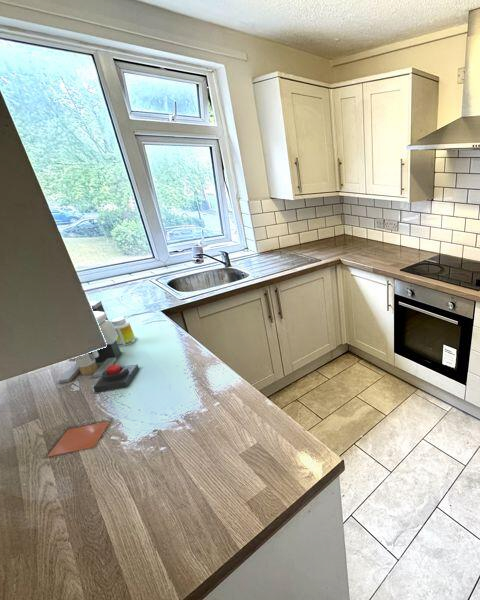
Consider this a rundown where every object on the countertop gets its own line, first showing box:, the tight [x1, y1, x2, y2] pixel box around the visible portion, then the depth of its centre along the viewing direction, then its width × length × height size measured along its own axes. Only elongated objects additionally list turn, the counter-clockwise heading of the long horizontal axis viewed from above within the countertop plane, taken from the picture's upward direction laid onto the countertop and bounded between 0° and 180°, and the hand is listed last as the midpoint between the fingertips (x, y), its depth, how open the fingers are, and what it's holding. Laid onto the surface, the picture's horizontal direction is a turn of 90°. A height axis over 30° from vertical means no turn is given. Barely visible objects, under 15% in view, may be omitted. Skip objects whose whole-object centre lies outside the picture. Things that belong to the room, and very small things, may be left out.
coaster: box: [46, 420, 111, 458], centre depth 82 cm, size 9×9×1 cm
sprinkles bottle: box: [74, 353, 100, 376], centre depth 105 cm, size 5×5×13 cm
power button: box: [107, 363, 121, 375], centre depth 102 cm, size 3×3×2 cm
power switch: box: [93, 363, 140, 393], centre depth 103 cm, size 8×10×4 cm
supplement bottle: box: [110, 316, 136, 347], centre depth 123 cm, size 6×6×10 cm
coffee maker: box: [58, 300, 122, 384], centre depth 105 cm, size 11×14×21 cm
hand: (84, 358), depth 106 cm, fingers closed on sprinkles bottle, 4 cm apart
